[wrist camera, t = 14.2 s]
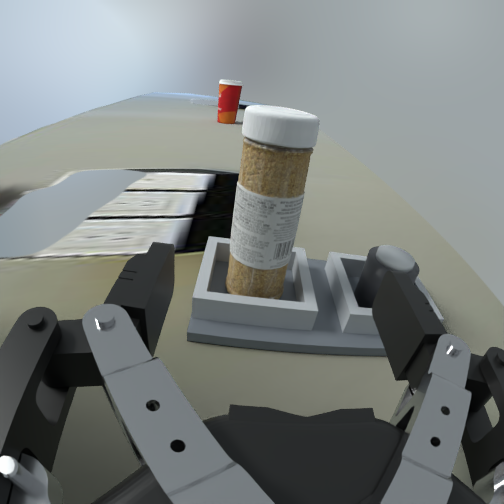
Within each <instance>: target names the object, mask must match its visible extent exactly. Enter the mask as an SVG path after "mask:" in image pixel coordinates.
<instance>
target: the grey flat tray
mask: <svg viewBox="0 0 504 504" xmlns="http://www.w3.org/2000/svg"><path fill="white" fill-rule="evenodd" d="M230 240H231V239H226V238H218V237H210V236H209V238H208V242H207V246H206V249H205V253H204V256H203V260H202V264H201V267H200V271H199V275H198V278H197V282H196V286H195V290H194V294H193V298H192V314H191V318H190V322H189V326H188V330H187V341H195V342H202V343H209V344H217V345H226V346H234V347H243V348H253V349H263V350H274V351H287V352H300V353H316V354H335V355H364V356H387V354H386V351H385V349H384V346H383V343H382V340H381V338H380V335H379V332H378V330H377V327H376V325H375V322H374V319H373V316H372V306H373V302H374V299H375V297H376V295H377V292H378V290H379V287H380V285H381V282H382V280H383V277H384V275H385V273H386V272H387V271H398V272H405V273H407V274H408V276H409V277H410V279H411V281H412V282H413V284H414V286H416V287H417V288H418V289H419V290H420V291H422V292H423V293H424V294H425V296H426V298H427V299H428V301H429V303H430V305H431V306H432V308H433V309H434V312H435V313H436V315H437V316H438V318H439V320H440V322H441V323H442V322H443V320H444V318H443V317H442V315H441V313H440V312H439V310H438V308H437V306H436V305H435V303H434V301H433V300H432V298H431V296H430V295H429V293H428V292H427V290H426V288H425V287H424V285H423V283H422V282H421V280H420V279H419V277H418V274H419V267H418V265H417V263H416V262H415V260H414V258H413V257H412V256H411V255H410V254H409V253H408V252H406V251H405V250H403V249H401V248H398V247H395V246H391V245H382V246H378V247H373V248H371V249H370V250H369V253H368V256H359V255H351V254H344V253H336V252H329V256H328V259H327V261H323V260H315V259H307V258H306V253H305V249H304V248H298V247H293V249H292V254H291V258H290V261H289V262H288V266H287V270H286V275H285V279H284V283H283V285H284V290H283V294H282V296H281V297H280V298H279V299H278V300H276V299H267V298H258V297H249V296H241V295H232V294H229V293H228V292H227V289H226V285H225V282H226V277H227V275H228V268H229V258H230Z"/></svg>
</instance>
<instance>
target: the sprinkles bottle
mask: <svg viewBox="0 0 504 504" xmlns="http://www.w3.org/2000/svg"><path fill="white" fill-rule="evenodd" d="M318 129H319V119H318V117H316V116H314V115H312V114H309V113H306V112H303V111H299V110H294V109H289V108H284V107H277V106H268V105H251V106H248V107H247V108H246V110H245V114H244V120H243V127H242V134H243V135H244V136H245V137H244V139H243V143H244V144H243V152H242V159H241V167H240V174H239V181H238V183H237V190H236V198H235V206H234V213H233V222H232V231H231V240H230V258H229V268H228V275H227V277H226V282H225V285H226V289H227V292H228V293H229V294H232V295H241V296H249V297H258V298H267V299H276V300H278V299H279V298H280V297H281V296H282V294H283V290H284V285H283V283H284V279H285V275H286V270H287V266H288V262H289V261H290V258H291V254H292V249H293V244H294V240H295V236H296V231H297V227H298V222H299V218H300V213H301V208H302V203H303V198H304V193H305V192H304V188H305V182H306V177H307V172H308V167H309V162H310V155H311V154H312V153H313V148H312V147H314V146H315V145H316V141H317V135H318Z"/></svg>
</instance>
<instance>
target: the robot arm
mask: <svg viewBox="0 0 504 504" xmlns="http://www.w3.org/2000/svg"><path fill="white" fill-rule="evenodd" d="M173 289H174V245H173V244H166V243H158V242H153V243H152V245H151V247H150V248H149V250H148V252H147V254H146V255H143V254H137V255H135V256H134V257H133V258H131V259H130V260H128V261H127V263H126V265H125V267H124V268H123V271H122V272H121V273H120V275H119V277H118V279H117V280H116V282H115V284H114V286H113V287H112V289H111V291H110V293H109V295H108V296H107V298H106V300H105V302H104V304H101V305H98V306H95V307H93V308H91V309H90V310H88V311H87V312H86V314H85V315H84V317H83V319H78V320H62V321H58V320H57V317H56V314H55V313H54V312H53V311H52V310H51V309H49V308H46V307H35V308H32V309H29V310H27V311H25V312H24V313H23V314H22V315H21V316H20V317H19V318H18V320H17V321H16V323H15V324H14V326H13V328H12V329H11V331H10V333H9V334H8V336H7V338H6V339H5V341H4V343H3V344H2V346H1V348H0V504H63V490H62V487H61V484H60V483H59V481H58V480H57V479H56V478H55V477H54V476H53V475H52V474H51V471H52V467H53V463H54V459H55V456H56V452H57V448H58V445H59V441H60V438H61V434H62V431H63V428H64V425H65V421H66V418H67V415H68V412H69V409H70V406H71V403H72V400H73V397H74V394H75V391H76V388H77V387H84V386H102V387H103V390H104V392H105V394H106V396H107V399H108V401H109V403H110V405H111V408H112V410H113V412H114V414H115V416H116V418H117V420H118V422H119V424H120V426H121V428H122V431H123V433H124V435H125V437H126V439H127V441H128V443H129V445H130V447H131V449H132V451H133V453H134V455H135V457H136V458H137V460H138V462H139V464H140V465H141V467H140V468H139V469H138V470H137V471H135V472H134V473H133V474H131V475H130V476H129V477H127V478H126V479H125V480H123V481H122V482H121V483H119V484H118V485H117V486H115V487H114V488H112V489H111V490H110V491H108V492H107V493H106V494H104V495H103V496H101V497H100V498H99V499H97V500H96V501H94V502H93V503H91V504H504V350H502V349H500V348H497V347H491V348H489V349H488V351H487V352H486V354H485V355H484V356H479V355H475V354H472V353H470V349H469V347H468V346H467V344H466V343H465V342H464V341H463V340H462V339H460V338H459V337H457V336H455V335H452V334H447V332H446V330H445V329H444V327H443V325H442V323H441V322H440V320H439V318H438V316H437V315H436V313H435V312H434V309H433V308H432V306H431V305H430V303H429V301H428V299H427V298H426V296H425V294H424V293H423V292H422V291H420V290H419V289H418V288H417V287H416V286H414V284H413V282H412V281H411V279H410V277H409V276H408V274H407V273H405V272H398V271H387V272H386V273H385V275H384V277H383V280H382V282H381V285H380V287H379V290H378V292H377V295H376V297H375V299H374V302H373V306H372V316H373V319H374V322H375V325H376V327H377V330H378V332H379V335H380V338H381V340H382V343H383V346H384V349H385V351H386V354H387V357H388V360H389V362H390V365H391V368H392V371H393V374H394V377H395V380H396V381H398V380H408V382H409V384H408V385H407V387H406V388H405V390H404V392H403V394H402V397H401V399H400V401H399V403H398V405H397V407H396V410H395V412H394V414H393V416H392V418H391V420H390V422H389V423H388V422H386V421H383V420H380V419H376V418H375V416H374V412H373V408H362V409H339V410H335V411H331V412H327V413H323V414H319V415H315V416H310V417H303V416H299V415H294V414H290V413H287V412H283V411H279V410H275V409H271V408H268V407H253V406H241V405H230V408H229V415H222V416H217V417H213V418H210V419H207V420H204V421H201V419H200V418H199V416H198V415H197V413H196V412H195V411H194V409H193V408H192V406H191V405H190V403H189V402H188V401H187V399H186V398H185V396H184V395H183V393H182V392H181V390H180V389H179V387H178V386H177V384H176V383H175V381H174V379H173V378H172V376H171V375H170V373H169V372H168V370H167V369H166V367H165V365H164V364H163V362H162V361H161V360H160V359H159V358H158V357H155V358H153V356H154V352H155V349H156V346H157V342H158V339H159V336H160V333H161V329H162V326H163V323H164V320H165V317H166V314H167V311H168V307H169V304H170V301H171V298H172V295H173ZM492 396H493V398H494V400H495V403H496V405H497V407H498V410H499V413H500V417H499V421H498V423H497V425H496V426H495V427H494V428H492V425H491V422H490V420H489V417H488V414H487V412H486V409H485V406H484V405H485V404H486V403H487V402H488V400H489V399H490V398H491V397H492ZM460 443H462V446H463V450H464V453H465V457H466V461H467V464H468V468H469V472H470V476H471V480H472V485H473V491H472V490H471V489H470V488H469V487H467V486H466V485H465V484H464V483H463V482H461V481H460V480H459V479H458V478H457V477H456V476H454V475H453V474H452V470H453V467H454V463H455V460H456V457H457V453H458V450H459V446H460Z"/></svg>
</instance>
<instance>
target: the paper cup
mask: <svg viewBox="0 0 504 504" xmlns="http://www.w3.org/2000/svg"><path fill="white" fill-rule="evenodd" d="M219 84H220V85H219V101H218V122H219V123H225V124H234V123H235V120H236V115H237V110H238V105H239V99H240V94H241V89H242V86H243V85H242V82H241V81H232V80H220V83H219Z"/></svg>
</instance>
